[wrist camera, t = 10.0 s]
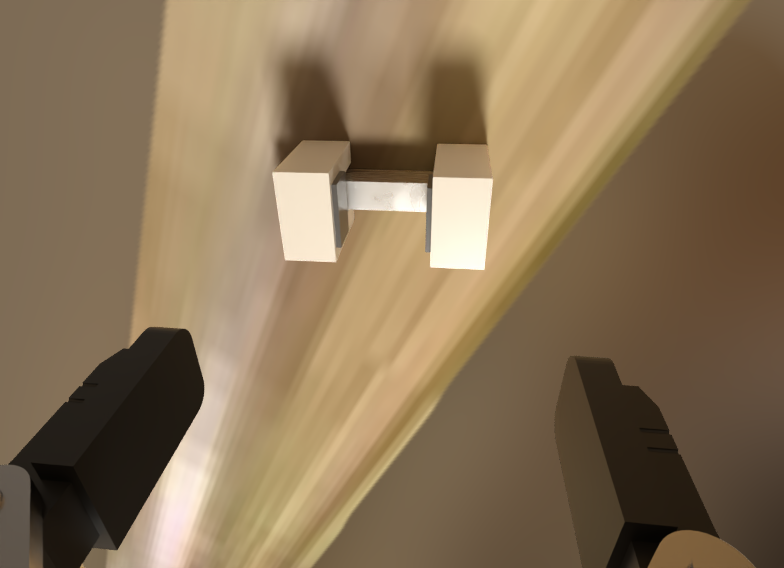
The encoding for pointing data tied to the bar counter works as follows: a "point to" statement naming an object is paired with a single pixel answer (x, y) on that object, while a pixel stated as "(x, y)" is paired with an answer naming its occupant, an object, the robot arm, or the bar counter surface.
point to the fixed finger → (459, 206)
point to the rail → (387, 189)
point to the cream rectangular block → (314, 200)
